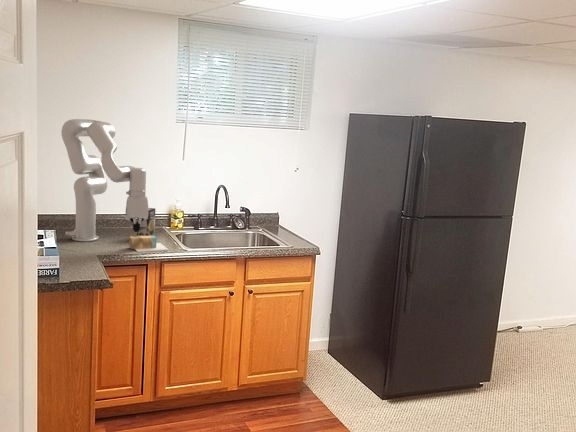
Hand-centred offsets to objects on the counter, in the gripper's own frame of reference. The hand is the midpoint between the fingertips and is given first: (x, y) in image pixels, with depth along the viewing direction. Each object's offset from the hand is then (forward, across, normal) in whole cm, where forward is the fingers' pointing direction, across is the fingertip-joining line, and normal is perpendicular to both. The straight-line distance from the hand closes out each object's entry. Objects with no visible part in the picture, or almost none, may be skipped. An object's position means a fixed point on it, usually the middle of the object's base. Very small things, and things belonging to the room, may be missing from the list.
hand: (136, 231), depth 283 cm
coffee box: (+9, +10, +19) cm, 23 cm away
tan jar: (+5, -3, 0) cm, 6 cm away
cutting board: (+9, +6, 0) cm, 11 cm away
